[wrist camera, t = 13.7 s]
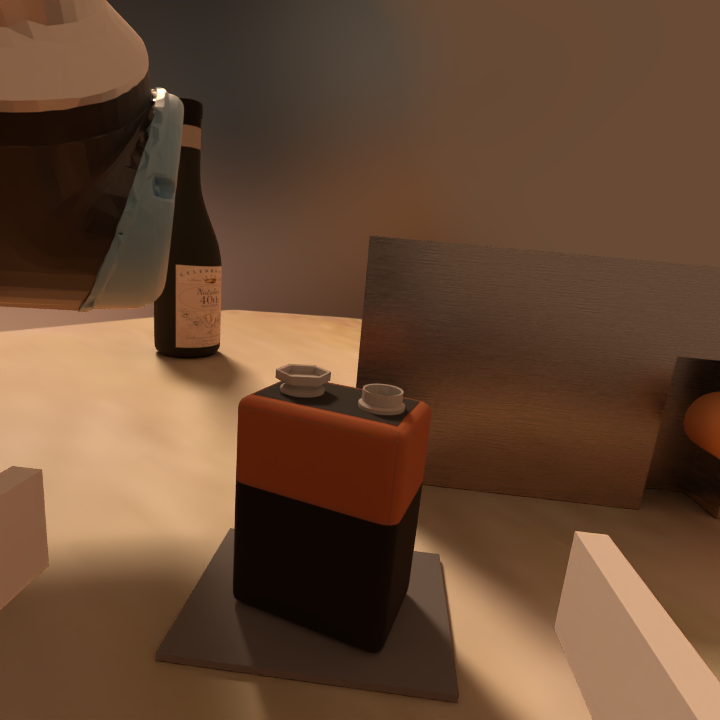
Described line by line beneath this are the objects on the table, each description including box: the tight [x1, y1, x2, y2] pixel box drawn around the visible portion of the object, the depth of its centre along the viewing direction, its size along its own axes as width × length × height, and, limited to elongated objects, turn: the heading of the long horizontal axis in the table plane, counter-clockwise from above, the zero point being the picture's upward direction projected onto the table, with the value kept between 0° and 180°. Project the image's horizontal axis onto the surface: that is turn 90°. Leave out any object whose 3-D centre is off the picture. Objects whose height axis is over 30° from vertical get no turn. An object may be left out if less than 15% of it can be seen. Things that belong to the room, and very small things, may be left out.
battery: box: [233, 364, 431, 653], centre depth 20 cm, size 4×7×10 cm, turn 69°
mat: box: [156, 528, 459, 703], centre depth 21 cm, size 11×8×1 cm
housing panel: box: [356, 236, 720, 519], centre depth 32 cm, size 26×4×16 cm, turn 86°
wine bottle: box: [154, 98, 222, 358], centre depth 59 cm, size 8×8×30 cm
